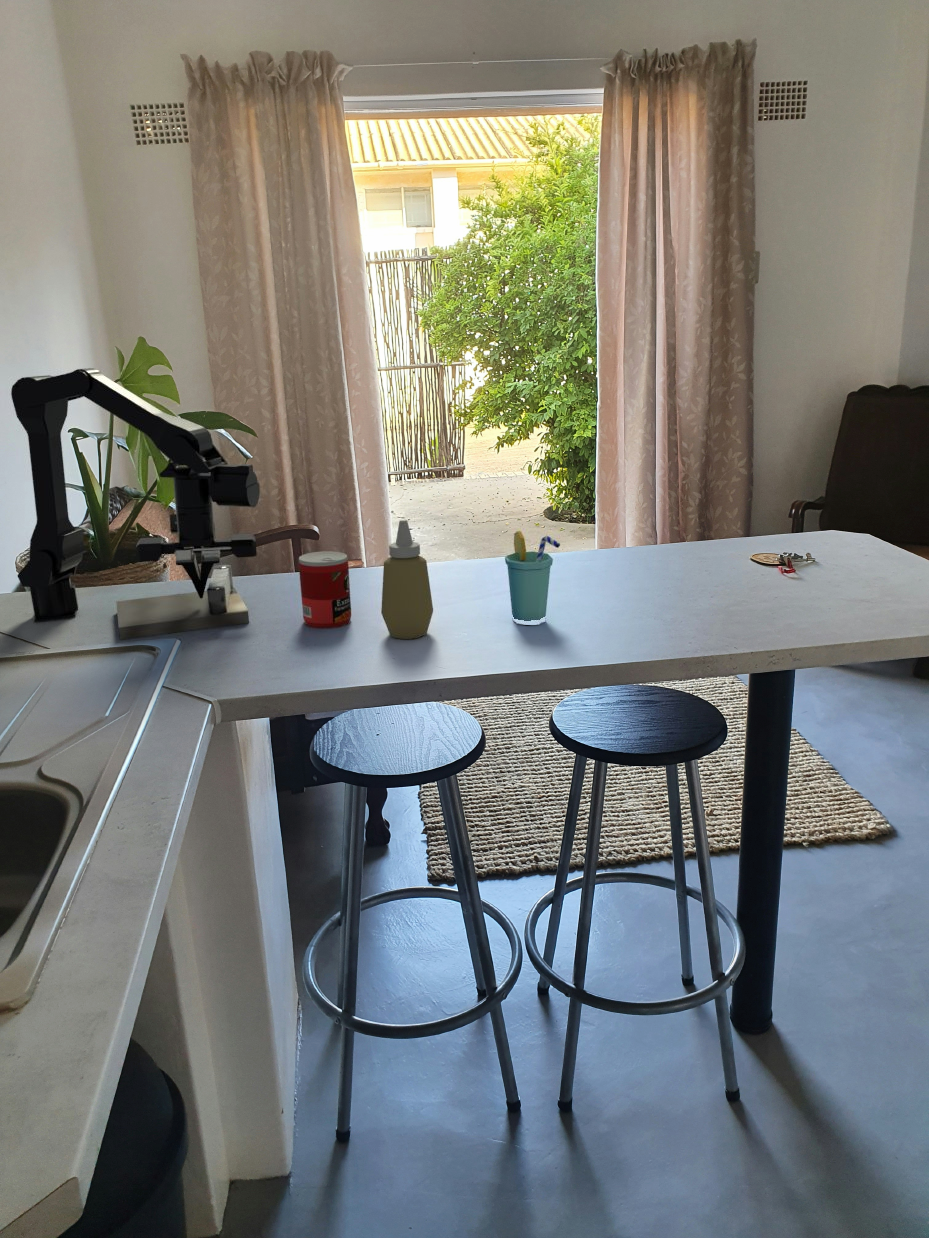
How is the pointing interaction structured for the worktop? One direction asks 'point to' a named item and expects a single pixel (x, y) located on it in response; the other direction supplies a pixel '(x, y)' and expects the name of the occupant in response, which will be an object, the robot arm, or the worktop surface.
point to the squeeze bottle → (406, 588)
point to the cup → (529, 579)
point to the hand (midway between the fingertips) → (201, 597)
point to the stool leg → (219, 589)
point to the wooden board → (175, 614)
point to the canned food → (325, 589)
